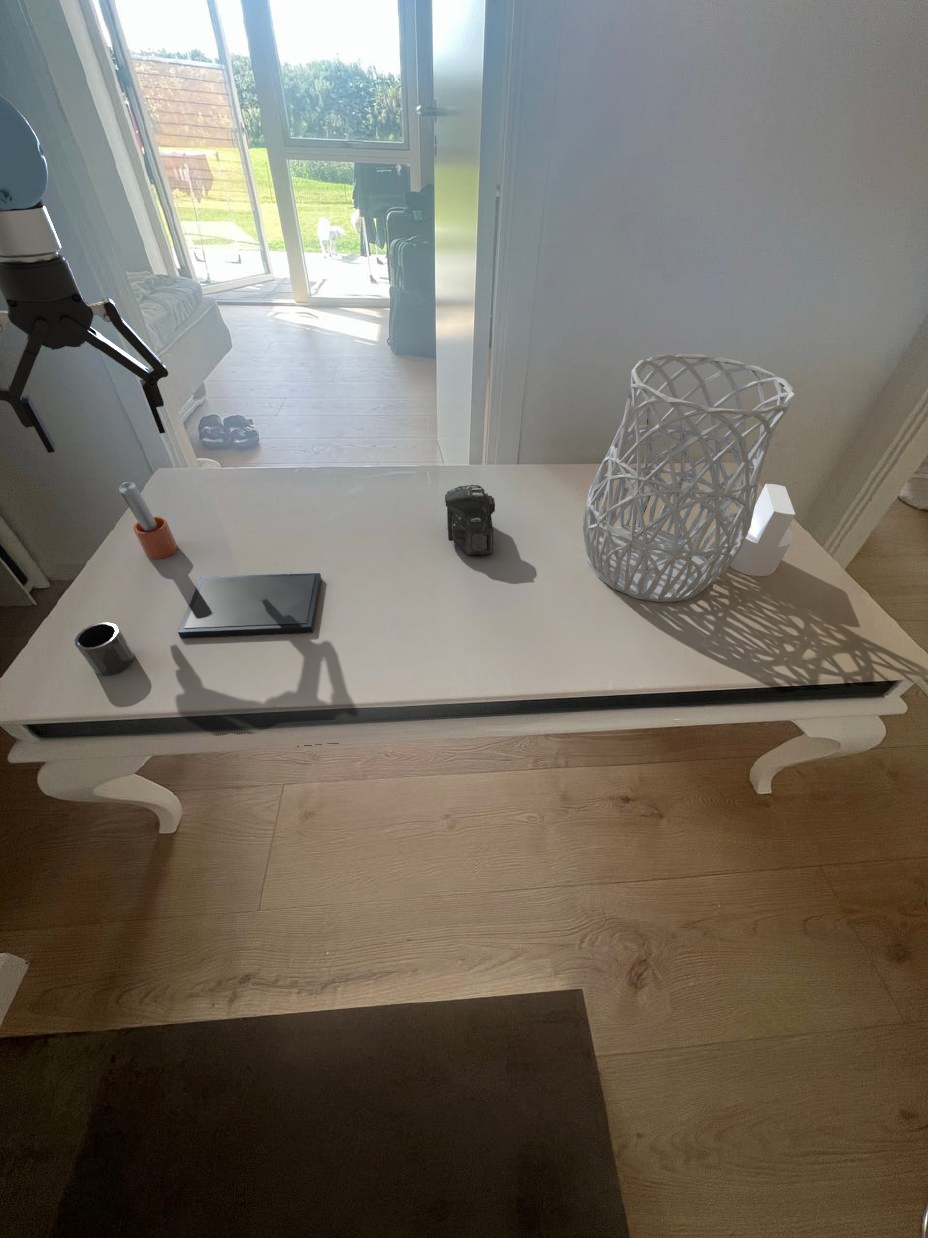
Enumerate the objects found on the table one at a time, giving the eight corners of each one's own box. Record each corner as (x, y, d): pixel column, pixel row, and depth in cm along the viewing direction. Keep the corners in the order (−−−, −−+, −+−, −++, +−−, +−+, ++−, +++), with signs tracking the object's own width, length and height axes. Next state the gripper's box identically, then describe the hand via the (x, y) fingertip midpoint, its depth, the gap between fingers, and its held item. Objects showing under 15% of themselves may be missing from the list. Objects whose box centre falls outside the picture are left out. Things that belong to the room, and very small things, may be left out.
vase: (636, 630, 76) (710, 431, 55) (547, 540, 92) (579, 359, 71) (754, 587, 84) (858, 399, 63) (655, 511, 100) (711, 340, 79)
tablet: (180, 638, 72) (177, 631, 72) (203, 582, 81) (200, 576, 80) (312, 632, 74) (311, 626, 73) (321, 578, 83) (320, 572, 82)
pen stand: (94, 681, 67) (75, 654, 63) (92, 656, 70) (73, 630, 66) (136, 667, 68) (119, 641, 65) (132, 643, 71) (116, 617, 68)
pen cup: (147, 562, 84) (135, 536, 81) (144, 546, 87) (131, 521, 84) (179, 553, 86) (168, 528, 82) (174, 538, 89) (164, 513, 85)
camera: (428, 524, 94) (427, 474, 87) (478, 513, 97) (481, 464, 90) (459, 567, 86) (461, 515, 79) (512, 553, 89) (518, 502, 82)
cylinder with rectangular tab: (718, 540, 93) (745, 480, 85) (771, 549, 92) (804, 488, 84) (723, 570, 87) (753, 508, 79) (780, 580, 86) (817, 518, 77)
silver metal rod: (158, 552, 86) (125, 497, 73) (149, 543, 87) (115, 487, 73) (170, 544, 87) (140, 488, 74) (161, 536, 88) (129, 479, 74)
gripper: (144, 244, 65) (197, 413, 80) (-113, 255, 56) (1, 445, 70) (152, 255, 61) (207, 432, 75) (-127, 269, 51) (-1, 469, 66)
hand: (108, 438), depth 73 cm, fingers open, 13 cm apart
